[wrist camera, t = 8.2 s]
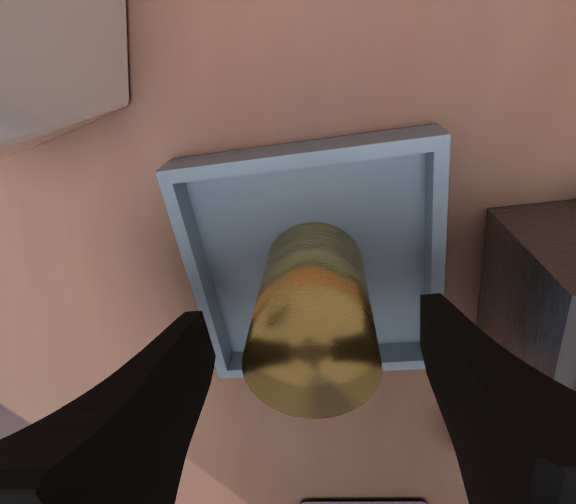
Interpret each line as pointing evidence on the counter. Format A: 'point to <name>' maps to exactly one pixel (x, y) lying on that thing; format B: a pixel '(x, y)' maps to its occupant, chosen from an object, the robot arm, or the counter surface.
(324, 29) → the counter surface
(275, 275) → the part brass
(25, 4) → the jar
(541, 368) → the unit
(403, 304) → the tray
